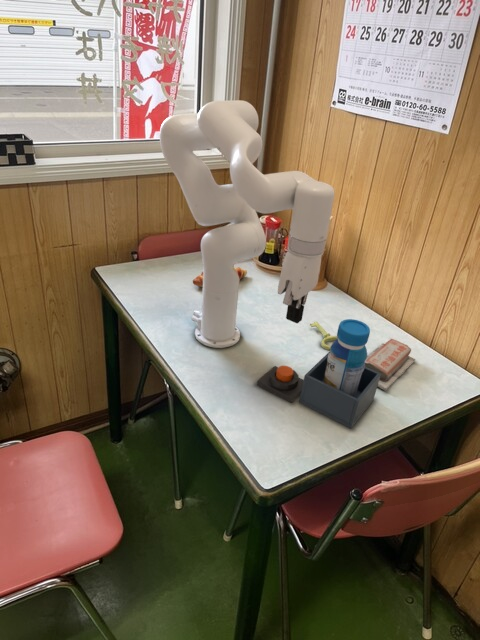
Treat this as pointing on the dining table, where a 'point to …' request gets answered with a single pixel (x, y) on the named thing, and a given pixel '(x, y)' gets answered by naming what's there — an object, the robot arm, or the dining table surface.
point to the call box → (281, 385)
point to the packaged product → (389, 361)
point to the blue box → (338, 394)
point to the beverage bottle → (347, 356)
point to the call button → (284, 373)
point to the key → (326, 336)
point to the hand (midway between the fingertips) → (293, 319)
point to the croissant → (199, 279)
